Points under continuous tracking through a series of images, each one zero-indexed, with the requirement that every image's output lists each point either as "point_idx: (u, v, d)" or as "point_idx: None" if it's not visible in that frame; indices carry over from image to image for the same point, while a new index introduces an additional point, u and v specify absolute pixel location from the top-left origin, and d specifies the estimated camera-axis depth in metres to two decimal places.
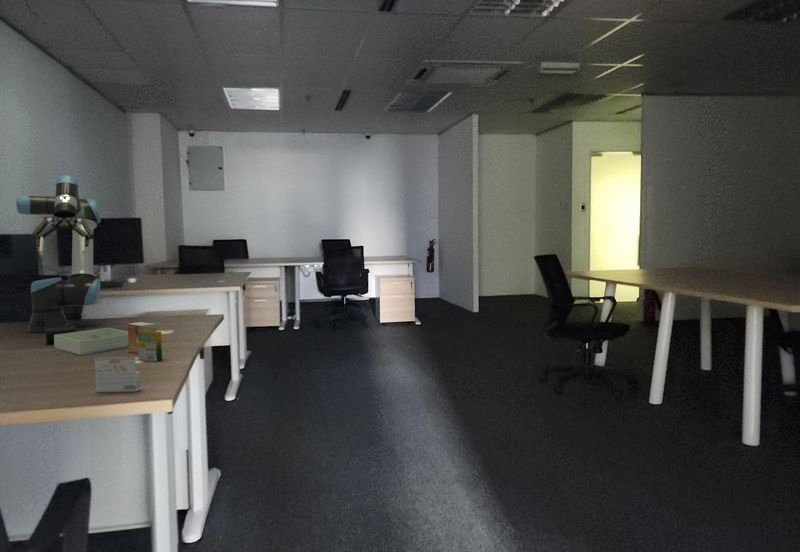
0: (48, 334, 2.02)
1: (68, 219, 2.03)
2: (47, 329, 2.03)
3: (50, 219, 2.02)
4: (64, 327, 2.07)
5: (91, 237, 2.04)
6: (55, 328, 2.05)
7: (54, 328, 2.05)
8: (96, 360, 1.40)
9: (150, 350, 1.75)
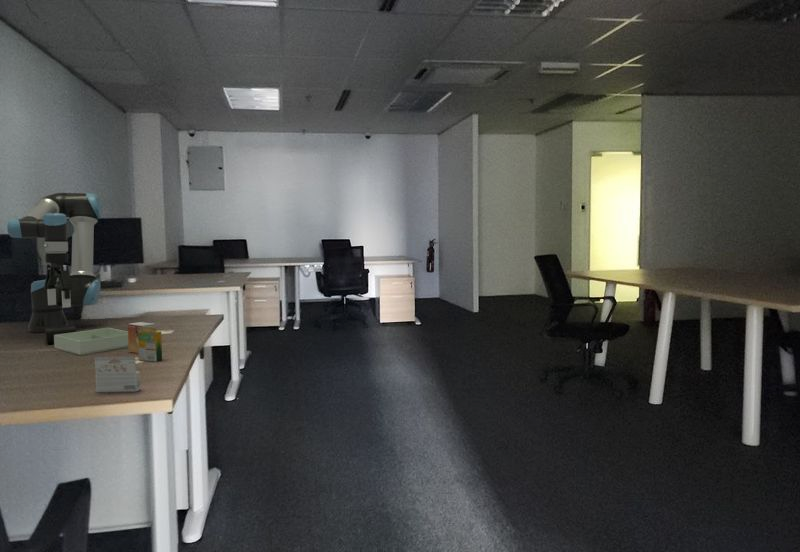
0: (48, 334, 2.02)
1: (53, 270, 2.04)
2: (47, 329, 2.03)
3: None
4: (64, 327, 2.07)
5: (68, 289, 2.01)
6: (55, 328, 2.05)
7: (54, 328, 2.05)
8: (96, 360, 1.40)
9: (150, 350, 1.75)
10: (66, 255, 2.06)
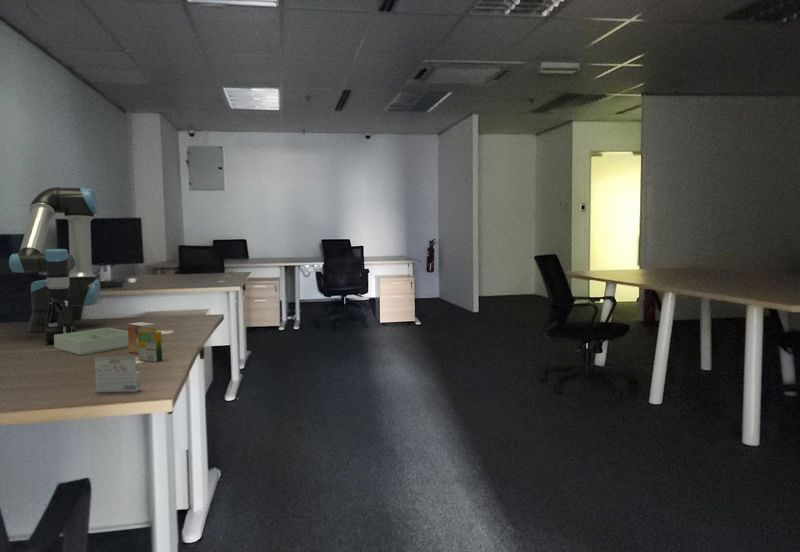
0: (48, 334, 2.02)
1: (55, 305, 2.05)
2: (47, 329, 2.03)
3: None
4: None
5: (69, 325, 2.02)
6: (55, 328, 2.05)
7: (54, 328, 2.05)
8: (96, 360, 1.40)
9: (150, 350, 1.75)
10: (68, 290, 2.07)
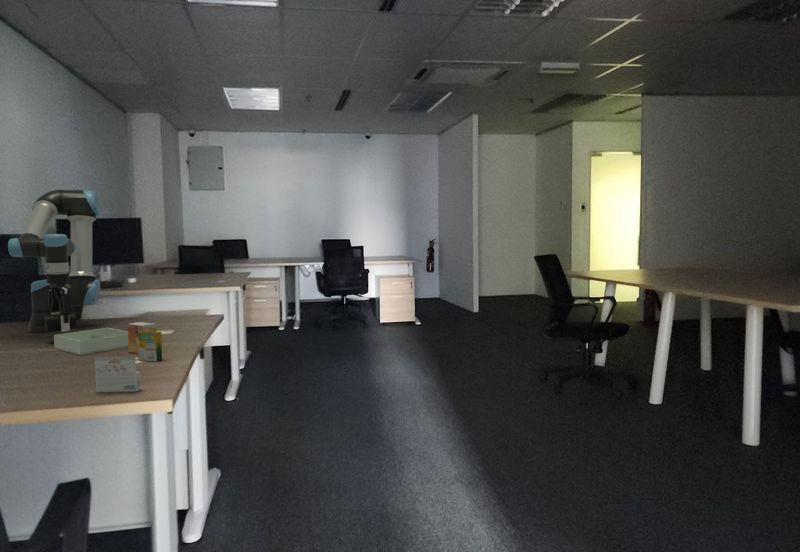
0: (48, 322, 2.03)
1: (54, 290, 2.04)
2: (47, 317, 2.03)
3: (52, 287, 2.09)
4: None
5: (67, 314, 2.04)
6: (55, 316, 2.05)
7: (54, 316, 2.05)
8: (96, 360, 1.39)
9: (150, 350, 1.75)
10: (67, 276, 2.06)
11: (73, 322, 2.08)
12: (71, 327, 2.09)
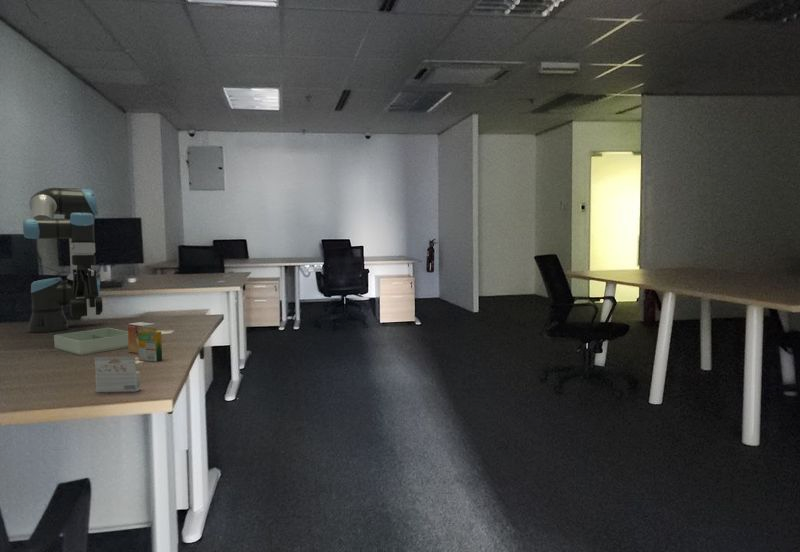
0: (73, 306, 1.90)
1: (80, 272, 1.92)
2: (72, 301, 1.91)
3: (77, 270, 1.97)
4: None
5: (93, 297, 1.91)
6: (80, 300, 1.92)
7: (79, 300, 1.92)
8: (96, 360, 1.40)
9: (150, 350, 1.75)
10: (93, 257, 1.94)
11: (99, 306, 1.95)
12: (96, 312, 1.96)
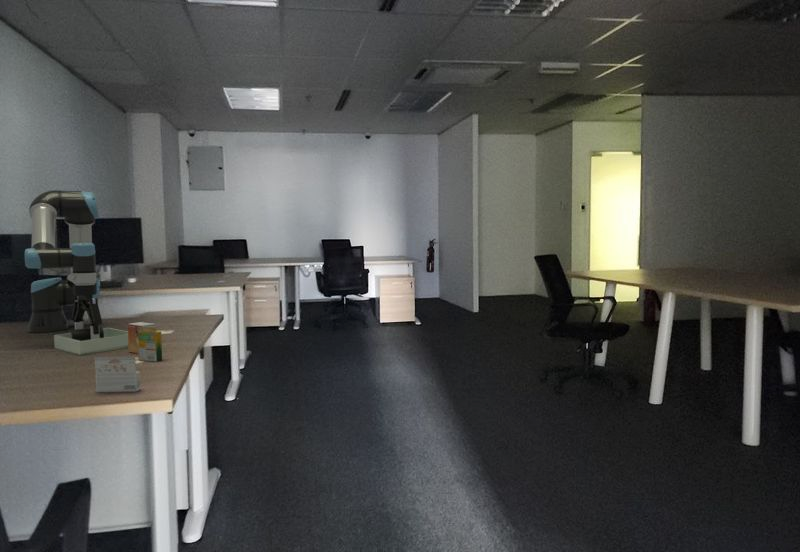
0: (75, 337, 1.91)
1: (81, 303, 1.93)
2: (74, 332, 1.92)
3: None
4: None
5: (97, 324, 1.90)
6: (82, 331, 1.93)
7: (81, 331, 1.93)
8: (96, 360, 1.40)
9: (150, 350, 1.75)
10: (95, 287, 1.95)
11: (101, 337, 1.96)
12: None
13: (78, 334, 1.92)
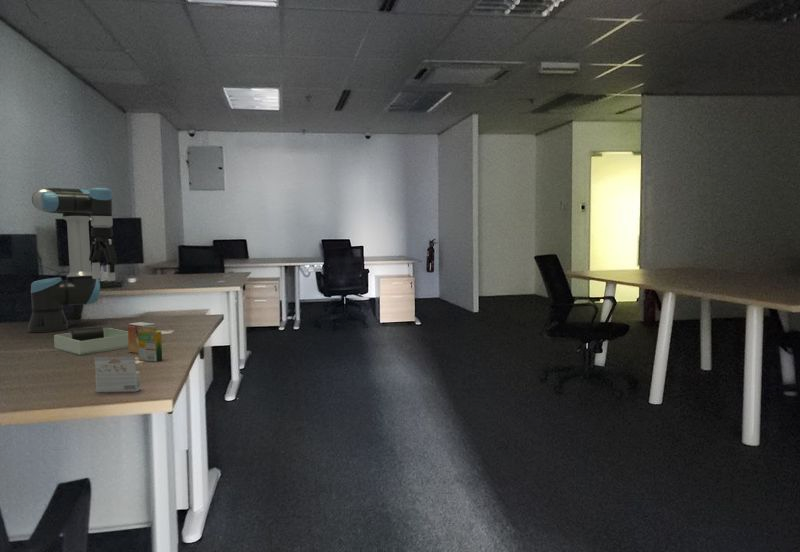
0: (75, 337, 1.91)
1: (99, 244, 2.07)
2: (74, 332, 1.92)
3: None
4: (91, 330, 1.95)
5: (113, 263, 2.04)
6: (82, 331, 1.93)
7: (81, 331, 1.93)
8: (96, 360, 1.39)
9: (150, 350, 1.75)
10: (111, 229, 2.09)
11: (101, 337, 1.96)
12: None
13: (78, 334, 1.92)
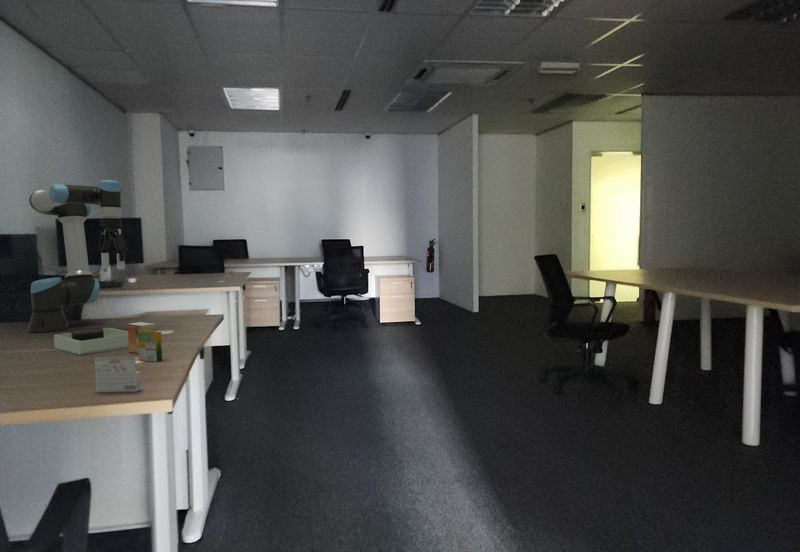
0: (75, 337, 1.91)
1: (108, 234, 2.15)
2: (74, 332, 1.92)
3: (105, 231, 2.20)
4: (91, 330, 1.95)
5: (123, 252, 2.12)
6: (82, 331, 1.93)
7: (81, 331, 1.93)
8: (96, 360, 1.39)
9: (150, 350, 1.75)
10: (120, 220, 2.17)
11: (101, 337, 1.96)
12: None
13: (78, 334, 1.92)
